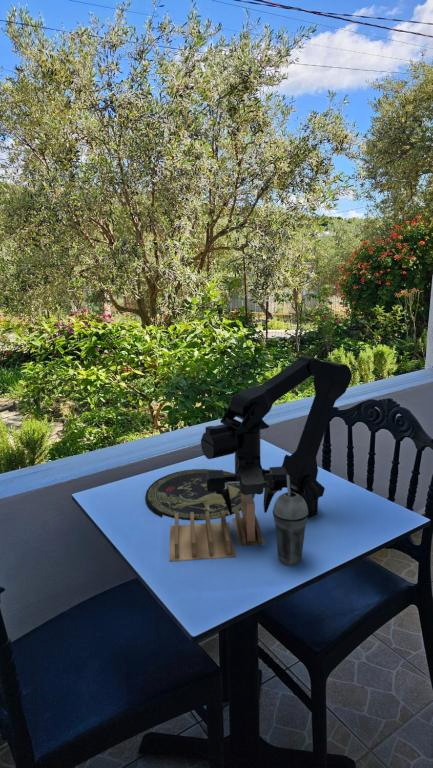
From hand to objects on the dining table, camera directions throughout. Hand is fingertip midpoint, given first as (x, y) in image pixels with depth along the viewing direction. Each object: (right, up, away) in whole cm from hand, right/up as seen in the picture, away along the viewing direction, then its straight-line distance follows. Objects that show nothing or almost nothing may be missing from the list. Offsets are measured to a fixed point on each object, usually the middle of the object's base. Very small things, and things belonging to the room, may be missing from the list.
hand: (247, 513), depth 108 cm
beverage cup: (+8, -8, -10) cm, 15 cm away
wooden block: (0, -4, +1) cm, 4 cm away
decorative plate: (-12, -1, +21) cm, 24 cm away
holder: (0, -5, +1) cm, 5 cm away
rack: (-11, -6, -3) cm, 13 cm away
